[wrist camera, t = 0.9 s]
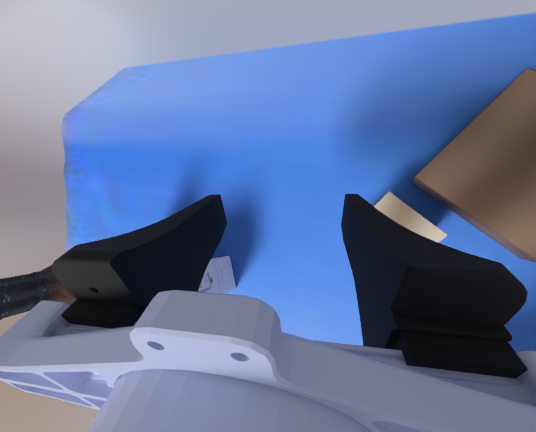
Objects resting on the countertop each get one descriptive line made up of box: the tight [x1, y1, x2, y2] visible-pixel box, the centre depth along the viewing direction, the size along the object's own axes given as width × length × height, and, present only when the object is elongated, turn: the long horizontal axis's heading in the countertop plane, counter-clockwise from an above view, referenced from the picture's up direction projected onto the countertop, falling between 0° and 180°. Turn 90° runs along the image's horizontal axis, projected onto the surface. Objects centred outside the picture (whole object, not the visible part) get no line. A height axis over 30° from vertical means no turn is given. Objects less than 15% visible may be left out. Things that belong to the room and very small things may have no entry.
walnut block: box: [411, 68, 536, 262], centre depth 16 cm, size 10×10×3 cm
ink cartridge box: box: [198, 256, 236, 294], centre depth 25 cm, size 9×5×15 cm, turn 103°
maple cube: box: [374, 192, 447, 243], centre depth 19 cm, size 5×5×5 cm
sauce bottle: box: [0, 265, 76, 320], centre depth 27 cm, size 6×6×20 cm
